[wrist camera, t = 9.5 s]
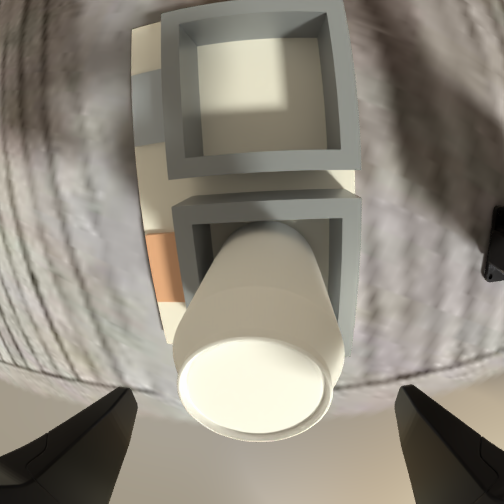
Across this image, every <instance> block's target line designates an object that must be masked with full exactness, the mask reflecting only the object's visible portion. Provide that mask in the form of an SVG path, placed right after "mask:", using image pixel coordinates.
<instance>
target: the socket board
mask: <svg viewBox="0 0 504 504" xmlns="http://www.w3.org/2000/svg"><path fill="white" fill-rule="evenodd" d="M131 86H132V114H133V132H134V145H135V157H136V168H137V178H138V187H139V195H140V203H141V211H142V218H143V225H144V231H145V238H146V244H147V250H148V256H149V261H150V267H151V272H152V278H153V283H154V288H155V293H156V297H157V302H158V307H159V311H160V316H161V320H162V324H163V329H164V333H165V337H166V341H167V344H173V339H174V335H175V332H176V329H177V327H178V325H179V323H180V321H181V319H182V317H183V315H184V313H185V311H186V310H187V308H188V306H189V304H190V302H191V300H192V299H193V297H194V295H195V293H196V291H197V290H198V288H199V286H200V284H201V282H202V281H203V279H204V277H205V275H206V273H207V272H208V270H209V268H210V266H211V265H212V263H213V261H214V259H215V258H216V256H217V254H218V252H219V251H220V249H221V247H222V246H223V244H224V243H225V241H226V240H227V239H228V237H229V236H230V235H231V234H232V233H233V232H235V231H236V230H237V229H239V228H241V227H242V226H244V225H247V224H249V223H252V222H256V221H276V222H280V223H283V224H286V225H288V226H290V227H292V228H293V229H295V230H296V231H298V232H299V233H300V234H301V235H302V236H303V237H304V238H305V239H306V241H307V242H308V243H309V245H310V247H311V249H312V251H313V253H314V256H315V259H316V261H317V264H318V267H319V270H320V272H321V275H322V278H323V281H324V284H325V287H326V290H327V293H328V296H329V299H330V302H331V305H332V308H333V311H334V314H335V317H336V320H337V323H338V326H339V329H340V332H341V336H342V339H343V343H344V352H345V356H344V357H350V356H351V349H352V341H353V333H354V324H355V315H356V305H357V294H358V281H359V266H360V247H361V214H362V198H361V197H359V196H357V195H355V170H361V146H360V127H359V113H358V101H357V90H356V81H355V72H354V64H353V56H352V49H351V43H350V36H349V30H348V24H347V19H346V13H345V8H344V3H343V0H234V1H225V2H218V3H211V4H205V5H199V6H194V7H189V8H184V9H179V10H174V11H170V12H166V13H162V14H161V22H157V23H153V24H150V25H146V26H142V27H139V28H135V29H132V45H131Z"/></svg>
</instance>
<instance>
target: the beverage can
mask: <svg viewBox="0 0 504 504" xmlns="http://www.w3.org/2000/svg"><path fill="white" fill-rule="evenodd" d="M344 356H345V352H344V343H343V339H342V336H341V332H340V329H339V326H338V323H337V320H336V317H335V314H334V311H333V308H332V305H331V302H330V299H329V296H328V293H327V290H326V287H325V284H324V281H323V278H322V275H321V272H320V270H319V267H318V264H317V261H316V259H315V256H314V253H313V251H312V249H311V247H310V245H309V243H308V242H307V241H306V239H305V238H304V237H303V236H302V235H301V234H300V233H299V232H298V231H296V230H295V229H293V228H292V227H290V226H288V225H286V224H283V223H280V222H276V221H256V222H252V223H249V224H247V225H244V226H242V227H241V228H239V229H237V230H236V231H235V232H233V233H232V234H231V235H230V236H229V237H228V239H227V240H226V241H225V243H224V244H223V246H222V247H221V249H220V251H219V252H218V254H217V256H216V258H215V259H214V261H213V263H212V265H211V266H210V268H209V270H208V272H207V273H206V275H205V277H204V279H203V281H202V282H201V284H200V286H199V288H198V290H197V291H196V293H195V295H194V297H193V299H192V300H191V302H190V304H189V306H188V308H187V310H186V311H185V313H184V315H183V317H182V319H181V321H180V323H179V325H178V327H177V329H176V332H175V335H174V339H173V358H174V362H175V366H176V369H177V373H178V378H177V390H178V395H179V398H180V400H181V402H182V404H183V406H184V407H185V409H186V410H187V411H188V413H189V414H190V415H191V416H192V417H193V418H194V419H195V420H196V421H198V422H199V423H200V424H202V425H203V426H205V427H206V428H208V429H210V430H212V431H214V432H216V433H218V434H220V435H223V436H226V437H229V438H233V439H237V440H242V441H251V442H267V441H276V440H281V439H286V438H289V437H292V436H295V435H298V434H300V433H302V432H304V431H306V430H307V429H309V428H311V427H312V426H313V425H315V424H316V423H317V422H318V421H319V420H320V419H321V418H322V417H323V416H324V415H325V413H326V412H327V410H328V408H329V406H330V404H331V401H332V397H333V388H334V386H335V384H336V382H337V380H338V378H339V376H340V374H341V371H342V368H343V364H344Z"/></svg>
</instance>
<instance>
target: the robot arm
mask: <svg viewBox="0 0 504 504" xmlns="http://www.w3.org/2000/svg"><path fill="white" fill-rule="evenodd" d="M498 212H499V214H498ZM489 275H490V276H489ZM484 278H485V280H486V281H487V282H495V281H502V280H504V206H496V207H495V208H494V212H493V222H492V231H491V239H490V246H489V253H488V259H487V264H486V270H485V275H484ZM137 409H138V406H137V402H136V400H135V397H134V395H133V393H132V390H131V389H130V388H127V387H118V388H116V389H115V390H113V391H112V392H110V393H109V394H107V395H106V396H104V397H102V398H101V399H99V400H98V401H96V402H95V403H93V404H92V405H90V406H89V407H87V408H86V409H84V410H82V411H81V412H79V413H78V414H76V415H75V416H73V417H71V418H70V419H68V420H67V421H65V422H64V423H62V424H60V425H59V426H57V427H56V428H54V429H52V430H51V431H49V432H48V433H46V434H44V435H43V436H41V437H39V438H38V439H36V440H34V441H32V442H30V443H29V444H27V445H25V446H23V447H21V448H18V449H16V450H14V451H12V452H10V453H7V454H5V455H3V456H1V457H0V504H109V501H110V498H111V495H112V492H113V489H114V486H115V483H116V480H117V477H118V474H119V471H120V469H121V466H122V463H123V460H124V457H125V455H126V452H127V449H128V446H129V442H130V439H131V435H132V430H133V426H134V422H135V418H136V414H137ZM395 413H396V418H397V424H398V430H399V437H400V442H401V447H402V451H403V455H404V458H405V462H406V466H407V469H408V473H409V477H410V481H411V485H412V489H413V493H414V497H415V501H416V504H504V451H503V450H501V449H499V448H498V447H496V446H495V445H494V444H492V443H491V442H489V441H488V440H486V439H485V438H484V437H481V435H480V434H478V433H477V432H476V431H474V430H473V429H472V428H470V427H469V426H467V425H466V424H465V423H464V422H462V421H461V420H460V419H458V418H457V417H455V416H454V415H453V414H451V413H450V412H449V411H447V410H446V409H445V408H443V407H442V406H441V405H439V404H438V403H437V402H435V401H434V400H433V399H431V398H430V397H429V396H427V395H426V394H425V393H423V392H422V391H421V390H419V389H418V388H417V387H415V386H414V385H412V384H410V385H404V386H401V387H400V389H399V392H398V395H397V398H396V401H395Z"/></svg>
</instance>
